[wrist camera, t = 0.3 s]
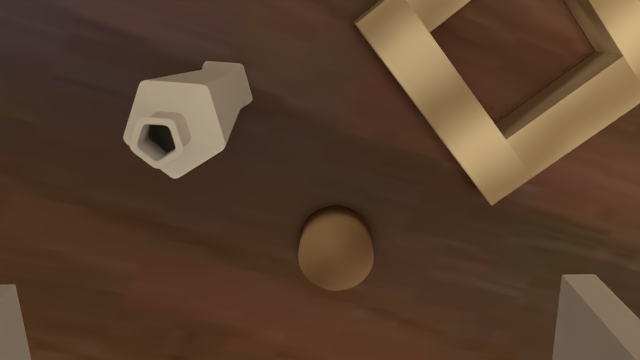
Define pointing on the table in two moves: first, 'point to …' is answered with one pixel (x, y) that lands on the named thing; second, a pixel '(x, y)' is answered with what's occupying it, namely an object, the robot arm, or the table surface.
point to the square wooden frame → (531, 117)
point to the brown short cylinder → (335, 248)
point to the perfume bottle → (186, 116)
